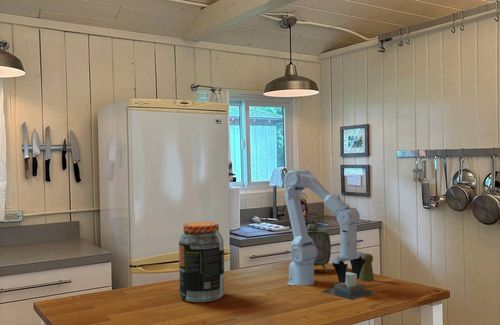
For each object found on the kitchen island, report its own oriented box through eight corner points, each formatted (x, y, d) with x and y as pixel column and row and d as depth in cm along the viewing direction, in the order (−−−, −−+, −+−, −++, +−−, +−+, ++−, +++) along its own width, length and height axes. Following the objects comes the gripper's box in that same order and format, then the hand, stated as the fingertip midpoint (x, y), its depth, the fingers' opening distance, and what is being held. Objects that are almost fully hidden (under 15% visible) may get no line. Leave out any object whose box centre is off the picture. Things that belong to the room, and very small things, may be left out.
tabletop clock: (296, 274, 207) (295, 214, 207) (294, 269, 216) (293, 211, 216) (331, 273, 207) (330, 214, 207) (327, 268, 216) (327, 211, 216)
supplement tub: (232, 294, 178) (232, 222, 177) (208, 306, 164) (207, 228, 164) (196, 289, 185) (195, 219, 185) (170, 300, 171) (169, 225, 171)
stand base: (320, 294, 177) (320, 282, 177) (346, 287, 186) (346, 275, 186) (351, 303, 166) (351, 290, 166) (377, 295, 175) (377, 283, 175)
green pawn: (374, 284, 190) (374, 255, 189) (358, 283, 191) (358, 255, 191) (373, 280, 196) (373, 252, 195) (358, 279, 197) (358, 252, 197)
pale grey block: (340, 291, 176) (340, 273, 176) (348, 289, 179) (347, 271, 179) (349, 294, 173) (349, 275, 173) (357, 292, 175) (357, 273, 175)
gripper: (343, 246, 168) (344, 286, 168) (370, 241, 177) (370, 279, 177) (328, 243, 173) (328, 282, 173) (354, 239, 182) (355, 275, 183)
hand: (348, 280), depth 176 cm, fingers open, 7 cm apart
